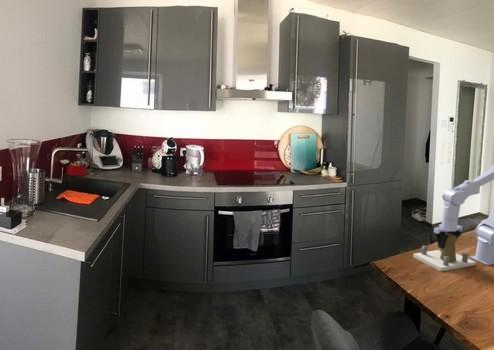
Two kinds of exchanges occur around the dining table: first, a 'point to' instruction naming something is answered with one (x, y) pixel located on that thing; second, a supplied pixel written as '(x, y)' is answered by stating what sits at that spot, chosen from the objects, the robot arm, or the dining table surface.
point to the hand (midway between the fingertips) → (445, 247)
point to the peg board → (439, 264)
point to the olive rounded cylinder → (449, 248)
